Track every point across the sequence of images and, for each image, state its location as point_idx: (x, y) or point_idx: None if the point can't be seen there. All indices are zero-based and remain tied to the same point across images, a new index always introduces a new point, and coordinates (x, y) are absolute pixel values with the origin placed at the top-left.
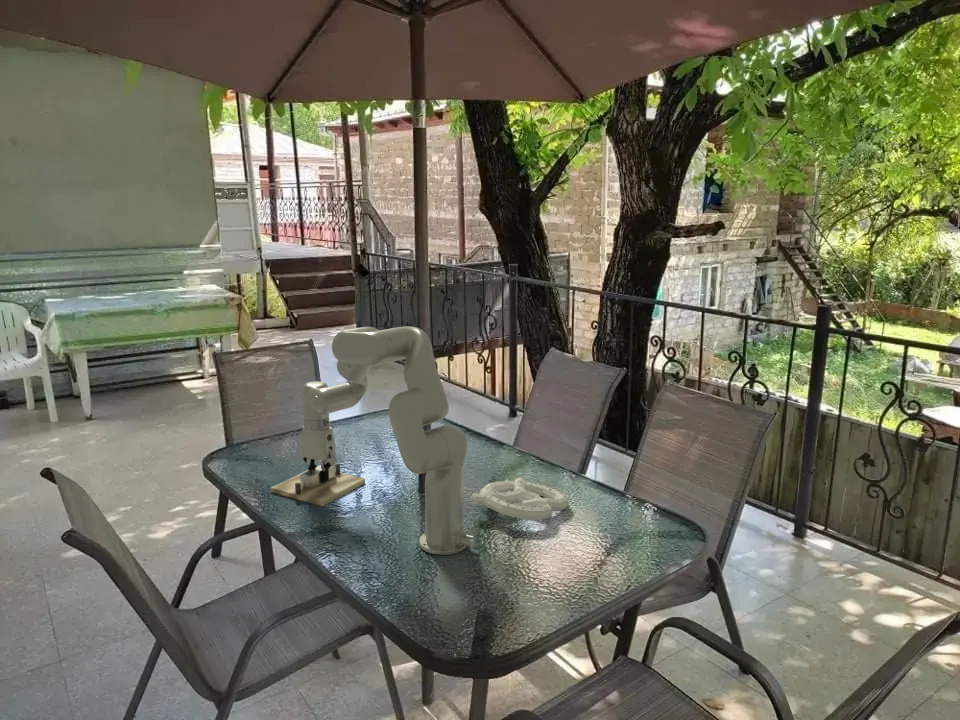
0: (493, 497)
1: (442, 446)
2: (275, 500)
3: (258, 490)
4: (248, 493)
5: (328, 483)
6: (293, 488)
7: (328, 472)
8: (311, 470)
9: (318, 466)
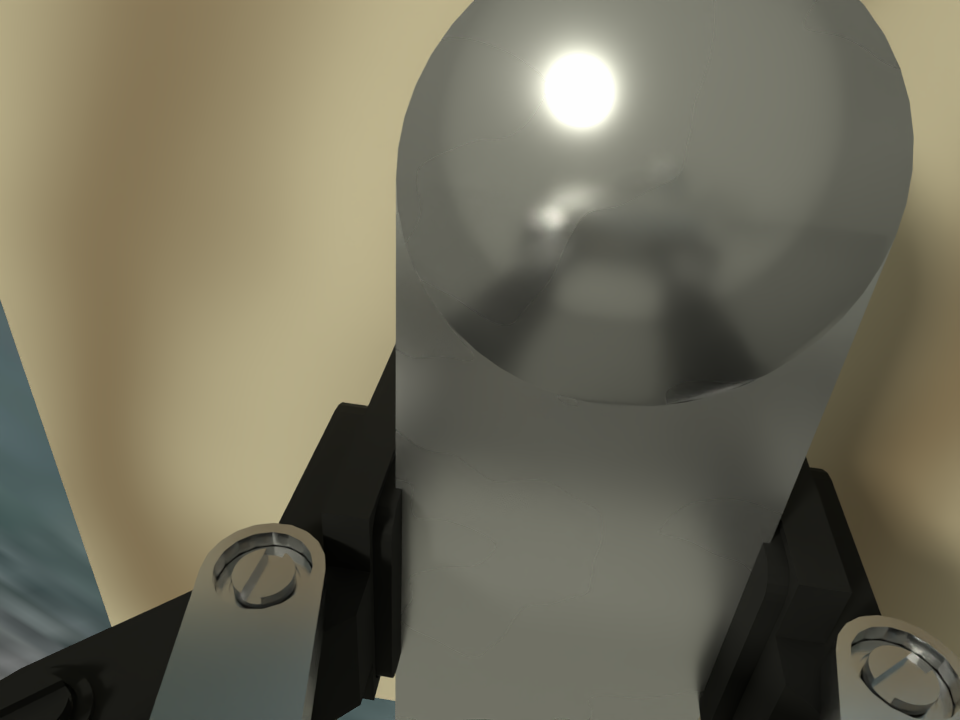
0: None
1: None
2: (353, 714)
3: (14, 601)
4: (16, 662)
5: None
6: None
7: (860, 571)
8: (446, 666)
9: (423, 453)
